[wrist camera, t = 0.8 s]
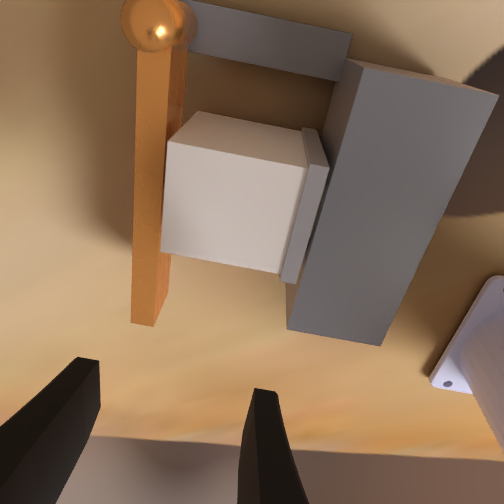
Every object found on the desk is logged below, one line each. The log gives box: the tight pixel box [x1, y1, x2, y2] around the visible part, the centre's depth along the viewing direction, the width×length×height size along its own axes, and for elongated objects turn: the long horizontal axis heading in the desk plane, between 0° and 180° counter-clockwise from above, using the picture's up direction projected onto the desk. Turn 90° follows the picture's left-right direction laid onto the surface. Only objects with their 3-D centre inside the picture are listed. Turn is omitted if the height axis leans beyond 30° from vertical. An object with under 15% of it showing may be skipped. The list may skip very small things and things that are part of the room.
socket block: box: [178, 0, 499, 346], centre depth 15 cm, size 11×11×5 cm
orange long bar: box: [121, 0, 198, 327], centre depth 15 cm, size 12×1×4 cm, turn 170°
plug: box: [160, 111, 330, 284], centre depth 15 cm, size 7×4×5 cm, turn 80°
